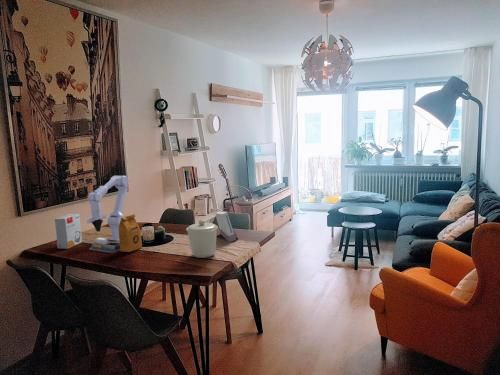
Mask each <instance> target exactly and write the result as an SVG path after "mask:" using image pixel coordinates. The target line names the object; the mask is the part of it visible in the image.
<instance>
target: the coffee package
mask: <svg viewBox="0 0 500 375" xmlns="http://www.w3.org/2000/svg"><path fill="white" fill-rule="evenodd" d="M135 217H136V214H134V213H133V214H130V215H126V216H124V217H123V218H121V220H120V224H119V240H118V241H119V242H118V243H120V250H119V252H121V253H122V252H125V253H130V252H134V251H137V250H140V249H142V247H143V242H142V241H143V240H142V231H141V228H140V226H139V224H138V222H137V221H136V218H135Z"/></svg>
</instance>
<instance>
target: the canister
mask: <svg viewBox="0 0 500 375" xmlns="http://www.w3.org/2000/svg"><path fill="white" fill-rule="evenodd" d="M218 229H219V225H217V224H214V223H213V222H206V221H205V220H204V219H200V220H199V221H198V223H193V224H191V225H189V226H188V227H186V229H185V230H186V232H187V235H188V240H189V246H190V250H191V254H192V255H193V256H194V258H200V259H203V258H210V257H212V256H214V254H215V253H216V249H217V234H218V232H217V231H218Z"/></svg>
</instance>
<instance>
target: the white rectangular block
mask: <svg viewBox="0 0 500 375" xmlns="http://www.w3.org/2000/svg"><path fill="white" fill-rule="evenodd" d="M107 241H108V238H107V237H106V238H104V237H98V238H95V242H96V243H98V244H106V243H108V242H107Z"/></svg>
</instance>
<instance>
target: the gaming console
mask: <svg viewBox="0 0 500 375" xmlns="http://www.w3.org/2000/svg"><path fill="white" fill-rule="evenodd" d="M214 214H215V218H216V222H217V224H218V225H217V226H218V230H219V233H220V235H221V236H222V237H223V238H224V239H225V241H227V242H228V243H231V242H234V241H236V240H237V239H238V238H239V236H238V235H237V232H235V230H234V229H233V226H232V222H231V221H230V216H229V213H228V212H227V211H217V212H214Z"/></svg>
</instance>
